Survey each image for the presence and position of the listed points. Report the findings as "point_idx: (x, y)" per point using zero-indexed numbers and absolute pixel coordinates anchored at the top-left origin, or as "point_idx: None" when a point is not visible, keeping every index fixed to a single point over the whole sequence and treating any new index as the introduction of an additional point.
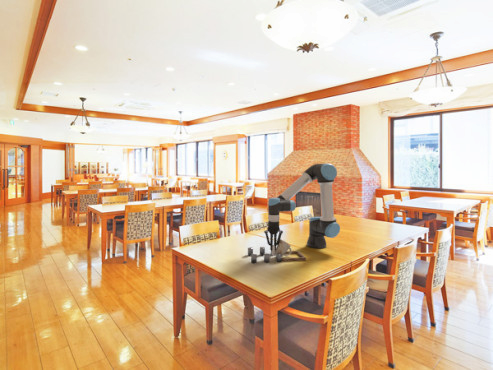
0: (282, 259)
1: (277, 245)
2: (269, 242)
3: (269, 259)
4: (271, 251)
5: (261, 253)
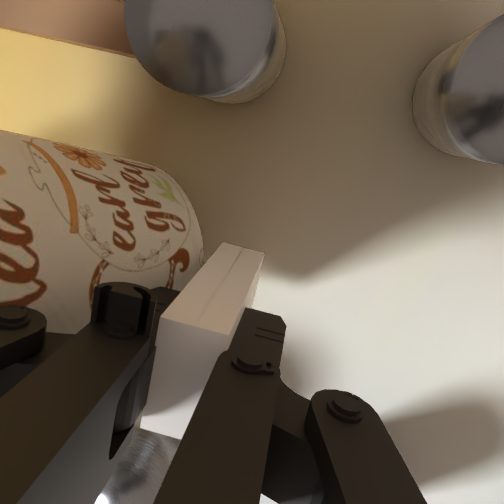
0: None
1: None
2: (342, 456)
3: (446, 50)
4: None
5: None
